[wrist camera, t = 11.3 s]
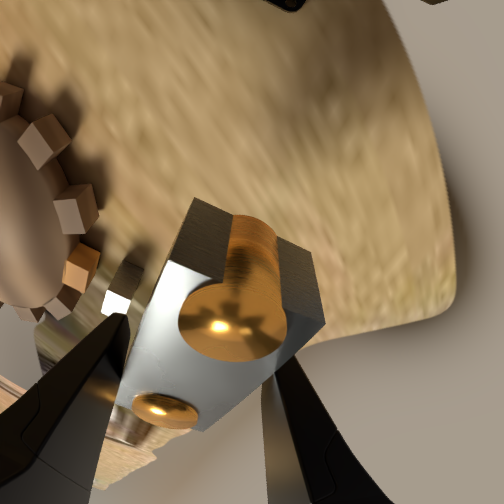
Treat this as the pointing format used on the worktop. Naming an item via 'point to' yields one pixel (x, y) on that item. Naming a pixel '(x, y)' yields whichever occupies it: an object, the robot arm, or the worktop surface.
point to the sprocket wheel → (40, 217)
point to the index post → (122, 289)
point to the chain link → (218, 319)
